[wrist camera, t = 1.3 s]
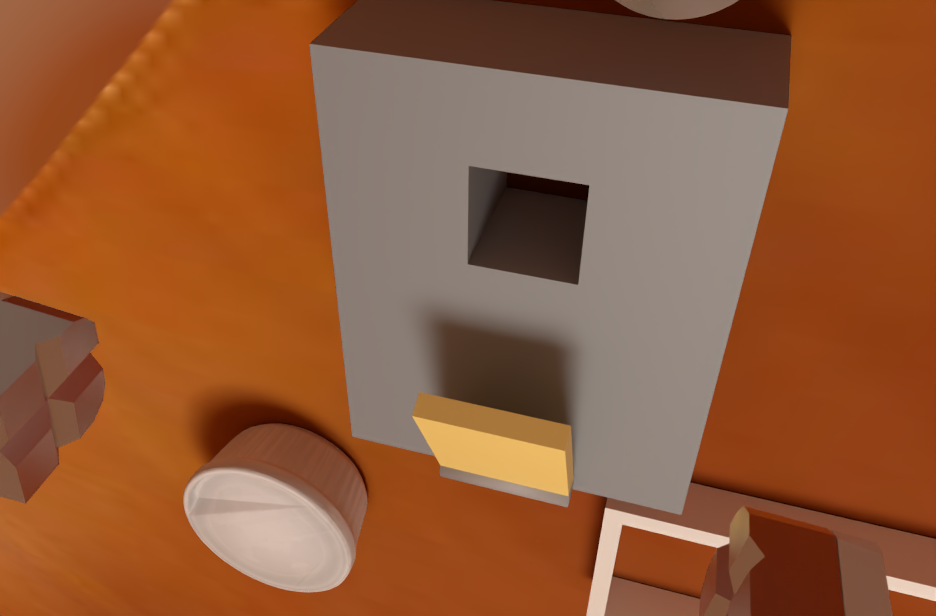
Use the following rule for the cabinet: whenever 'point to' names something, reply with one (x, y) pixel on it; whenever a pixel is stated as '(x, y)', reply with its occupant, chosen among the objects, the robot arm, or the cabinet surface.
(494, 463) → the yellow rectangular slab
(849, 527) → the rectangular frame
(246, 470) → the ramekin
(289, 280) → the cabinet surface
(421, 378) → the hitch block
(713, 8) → the steel peg
